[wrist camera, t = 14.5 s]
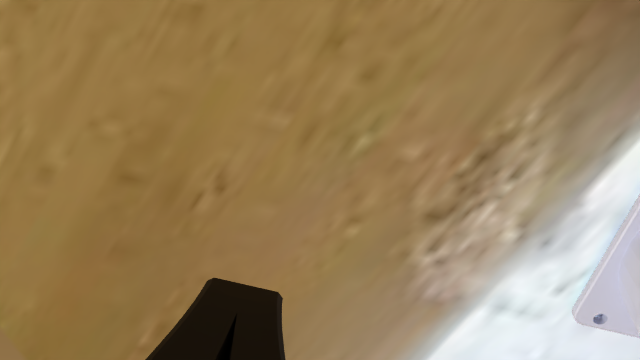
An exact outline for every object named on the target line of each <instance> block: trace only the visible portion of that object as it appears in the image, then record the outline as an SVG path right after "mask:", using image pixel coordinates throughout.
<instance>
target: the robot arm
mask: <svg viewBox="0 0 640 360" xmlns="http://www.w3.org/2000/svg"><path fill="white" fill-rule="evenodd" d="M282 300H283V298H282V297H281V295H280V294H279V293H278V292H275V291H271V290H266V289H262V288H257V287H253V286H249V285H244V284H240V283H235V282H231V281H227V280H222V279H218V278H212V279H210V280H208V281H207V282H206V284H205V285H204V287H203V289H202V290H201V292H200V293H199V295H198V296H197V298H196V299H195V301H194V302H193V304H192V305H191V306H190V308H189V309H188V310H187V312H186V313H185V314H184V315H183V317H182V318H181V319H180V320H179V322H178V323H177V324H176V325H175V327H174V328H173V329H172V330H171V331H170V332H169V334H168V335H167V336H166V337H165V338H164V339H163V340H162V342H161V343H160V344H159V345H158V346H157V347H156V348H155V350H154V351H153V352H152V353H151V354H150V355H149V356H148V357H147V358H146V360H285V353H284V344H283V334H282ZM572 314H573V317H574V320H575V321H576V322H577V323H579V324H581V325H585V326H589V327H594V328H598V329H602V330H607V331H611V332H615V333H620V334H624V335H629V336H633V337H637V338H640V195H639V196H638V198H637V200H636V201H635V203H634V205H633V206H632V208H631V210H630V211H629V213H628V215H627V217H626V218H625V220H624V222H623V223H622V225H621V227H620V228H619V230H618V232H617V233H616V235H615V237H614V239H613V240H612V242H611V244H610V245H609V247H608V249H607V250H606V252H605V254H604V255H603V257H602V259H601V260H600V262H599V264H598V266H597V267H596V269H595V271H594V272H593V274H592V276H591V277H590V279H589V281H588V282H587V284H586V286H585V288H584V289H583V291H582V293H581V294H580V296H579V298H578V299H577V301H576V303H575V304H574V306H573V308H572ZM599 314H603V315H602V316H600V317H595V316H596V315H599Z"/></svg>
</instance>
